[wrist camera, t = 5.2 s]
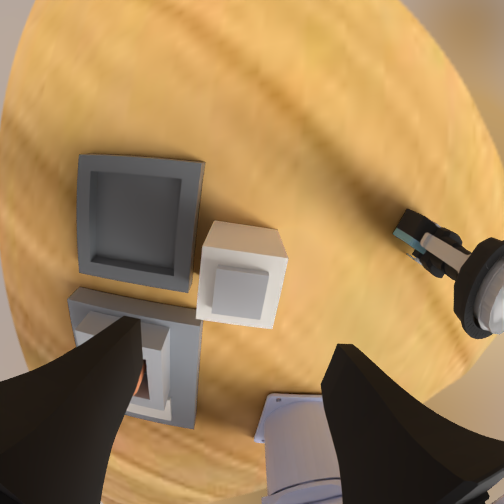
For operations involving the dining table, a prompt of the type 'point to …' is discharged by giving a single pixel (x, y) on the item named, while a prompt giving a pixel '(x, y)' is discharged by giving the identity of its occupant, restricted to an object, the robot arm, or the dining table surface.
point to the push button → (461, 271)
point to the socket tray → (138, 218)
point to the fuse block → (241, 275)
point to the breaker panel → (150, 351)
